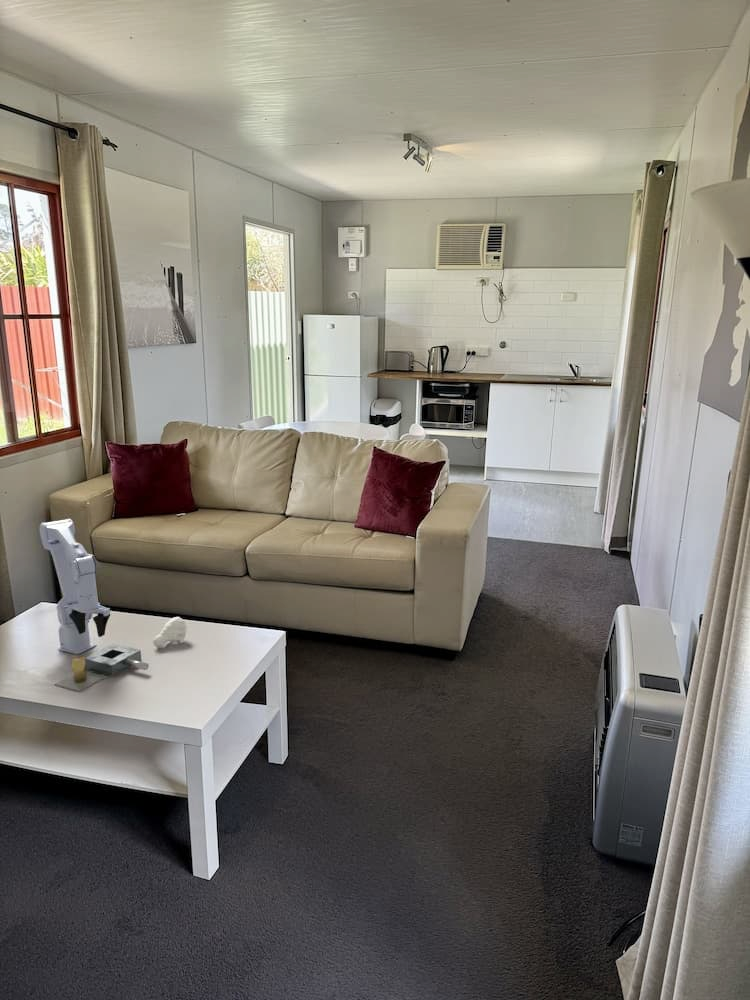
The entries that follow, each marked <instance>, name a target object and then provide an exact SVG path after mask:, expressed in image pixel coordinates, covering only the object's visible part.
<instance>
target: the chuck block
mask: <svg viewBox="0 0 750 1000" xmlns="http://www.w3.org/2000/svg"><path fill="white" fill-rule="evenodd" d="M84 657H85V666H86V671H87V672H91V673H95V674H98V675H102V676H107V677H110V678H115V677H116V676H119V674H122V673H124V672H125V671H127V670H129V669H131V668H135V669H141V670H144V671H146V670H148V669H149V663H147V662H142V652H141V649H139V648H133V647H130V646H129V647H128V646H125V645H120V644H117V643H116V644H115V643H112V644H109V645H108V646H106V647H104V648H102V649H100V650H97V651H96V652H93V653H92V654H90V655H88V656H84Z"/></svg>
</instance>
